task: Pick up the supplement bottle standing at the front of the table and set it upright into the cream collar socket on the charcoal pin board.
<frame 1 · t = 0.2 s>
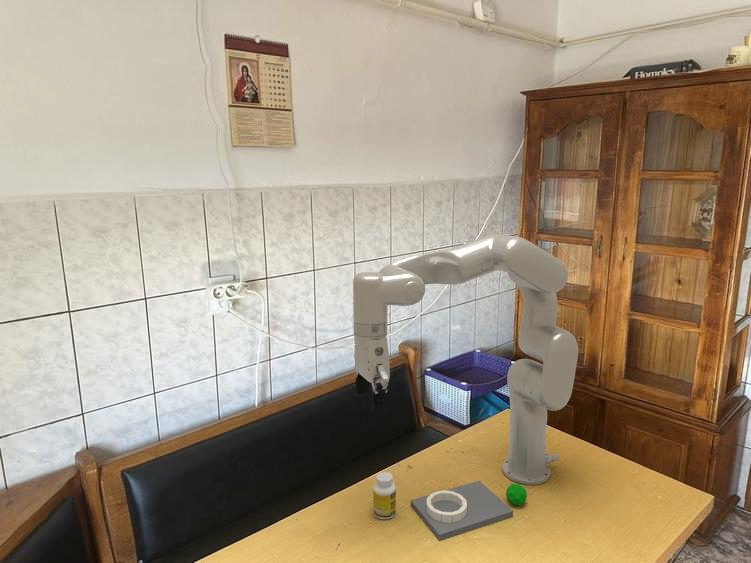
hand: (370, 400, 122), 30 cm above the table, tool pointing down, fingers open, 9 cm apart
polyhedron: (516, 503, 132), on the table
supplement bottle: (384, 513, 129), on the table
pin board: (460, 511, 129), on the table
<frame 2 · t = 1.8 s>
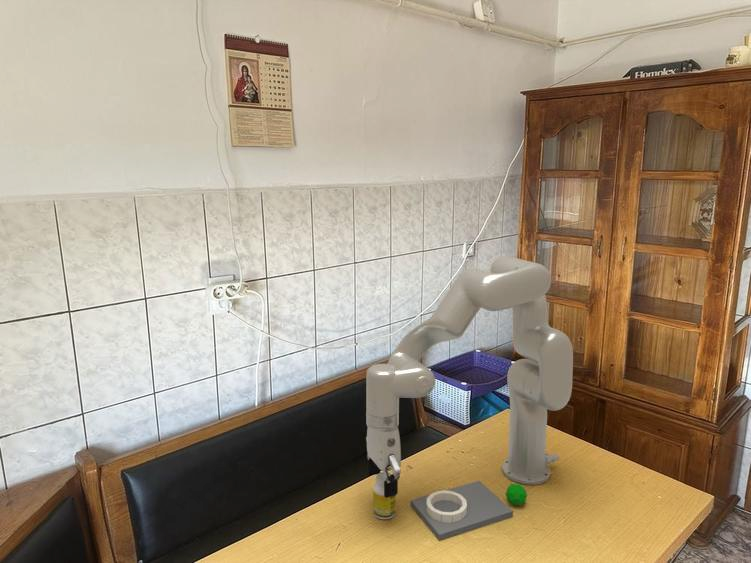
hand: (382, 484, 127), 8 cm above the table, tool pointing down, fingers open, 9 cm apart
nothing on the table moved.
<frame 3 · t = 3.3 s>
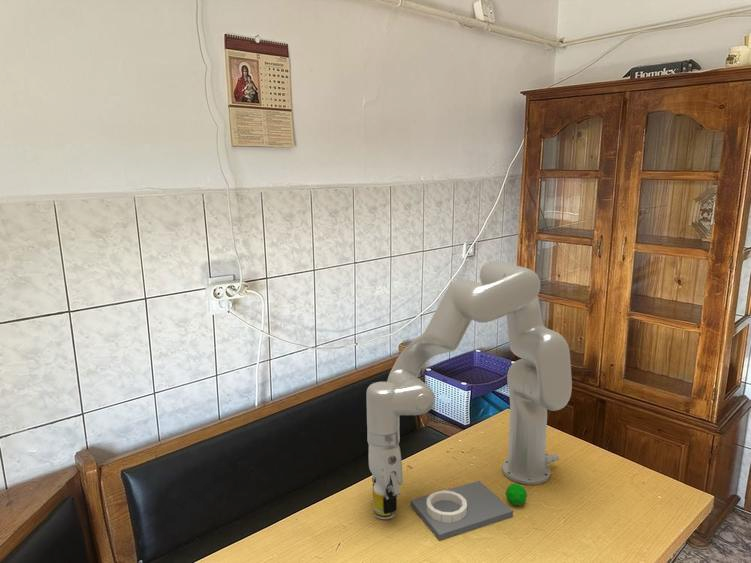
hand: (384, 503, 128), 3 cm above the table, tool pointing down, fingers closed on supplement bottle, 5 cm apart
supplement bottle: (384, 513, 129), on the table, touching gripper
everything else where it was.
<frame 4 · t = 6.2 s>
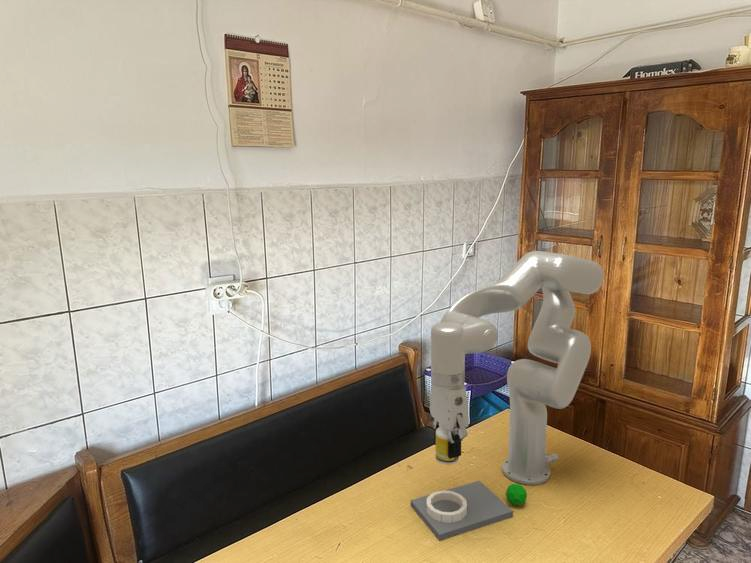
hand: (447, 449, 124), 17 cm above the table, tool pointing down, fingers closed on supplement bottle, 5 cm apart
supplement bottle: (447, 460, 125), point 14 cm above the table, touching gripper
everything else where it was.
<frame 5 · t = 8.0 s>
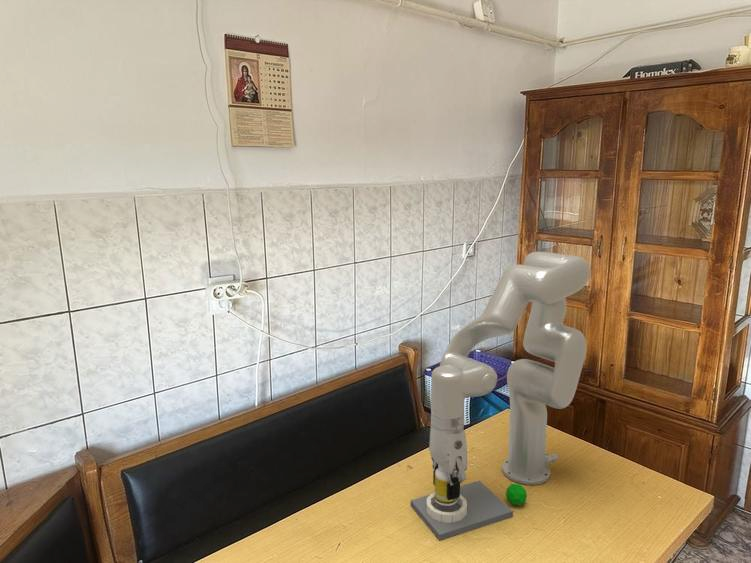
hand: (446, 490, 126), 7 cm above the table, tool pointing down, fingers closed on supplement bottle, 5 cm apart
supplement bottle: (445, 500, 127), point 4 cm above the table, touching gripper
everything else where it was.
when the fingers open (5 cm above the table, at t = 9.3 s): supplement bottle stays where it is, resting on pin board.
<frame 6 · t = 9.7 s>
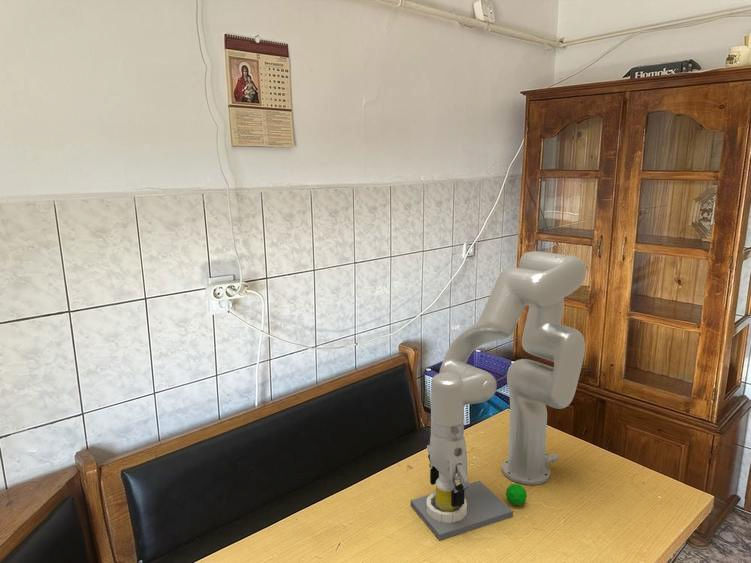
hand: (446, 493, 126), 6 cm above the table, tool pointing down, fingers open, 9 cm apart
supplement bottle: (446, 510, 127), point 1 cm above the table, touching pin board
everything else where it was.
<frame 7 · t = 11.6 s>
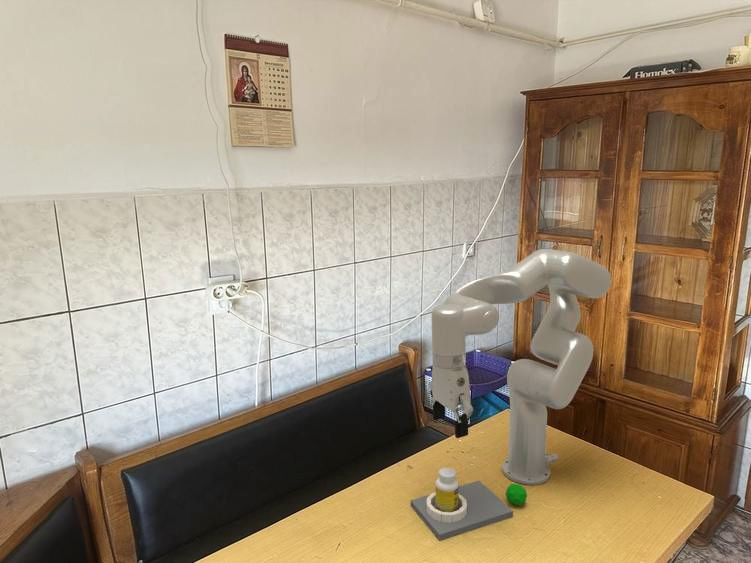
hand: (450, 427, 126), 21 cm above the table, tool pointing down, fingers open, 9 cm apart
nothing on the table moved.
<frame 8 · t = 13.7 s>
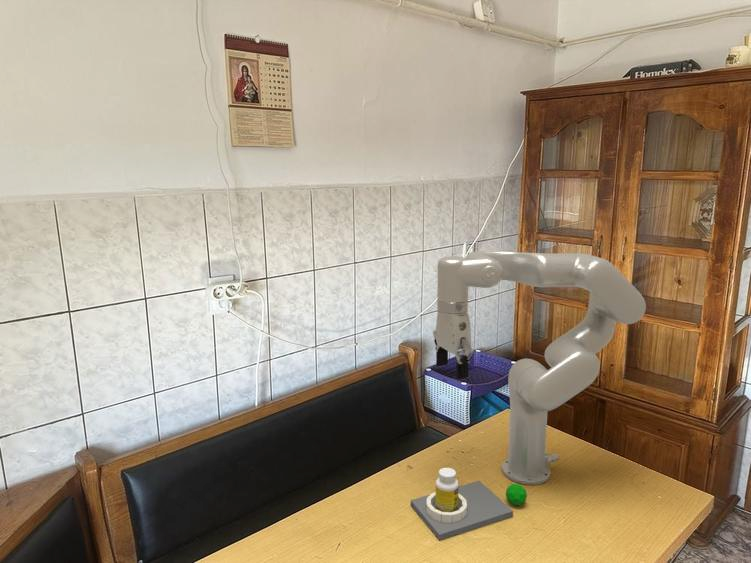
hand: (451, 371, 136), 30 cm above the table, tool pointing down, fingers open, 9 cm apart
nothing on the table moved.
at the end: supplement bottle 0.2 cm from the target spot on the pin board, point 1.3 cm above the pin board's base; supplement bottle tilted 0°; the gripper is holding nothing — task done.
